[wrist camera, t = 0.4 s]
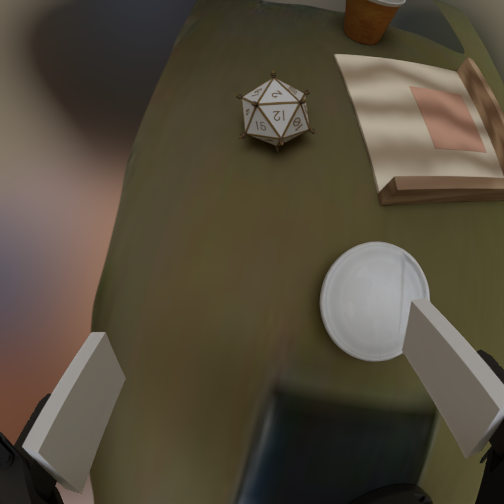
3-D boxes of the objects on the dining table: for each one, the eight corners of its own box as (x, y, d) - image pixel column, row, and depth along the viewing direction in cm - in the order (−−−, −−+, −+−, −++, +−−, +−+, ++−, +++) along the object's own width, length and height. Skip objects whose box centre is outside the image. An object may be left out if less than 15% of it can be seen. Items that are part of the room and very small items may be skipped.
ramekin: (421, 320, 30) (446, 321, 24) (340, 373, 29) (355, 385, 24) (379, 234, 32) (398, 221, 26) (293, 281, 31) (299, 275, 26)
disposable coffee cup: (396, 41, 38) (417, -7, 26) (369, 58, 37) (390, 2, 25) (354, 14, 39) (367, -34, 27) (323, 28, 38) (333, -27, 26)
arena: (513, 200, 32) (533, 189, 27) (380, 205, 32) (397, 189, 27) (460, 75, 36) (472, 59, 31) (333, 56, 37) (339, 33, 32)
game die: (265, 136, 38) (260, 64, 31) (325, 147, 34) (326, 67, 28) (225, 162, 33) (213, 76, 26) (293, 176, 29) (291, 77, 22)
